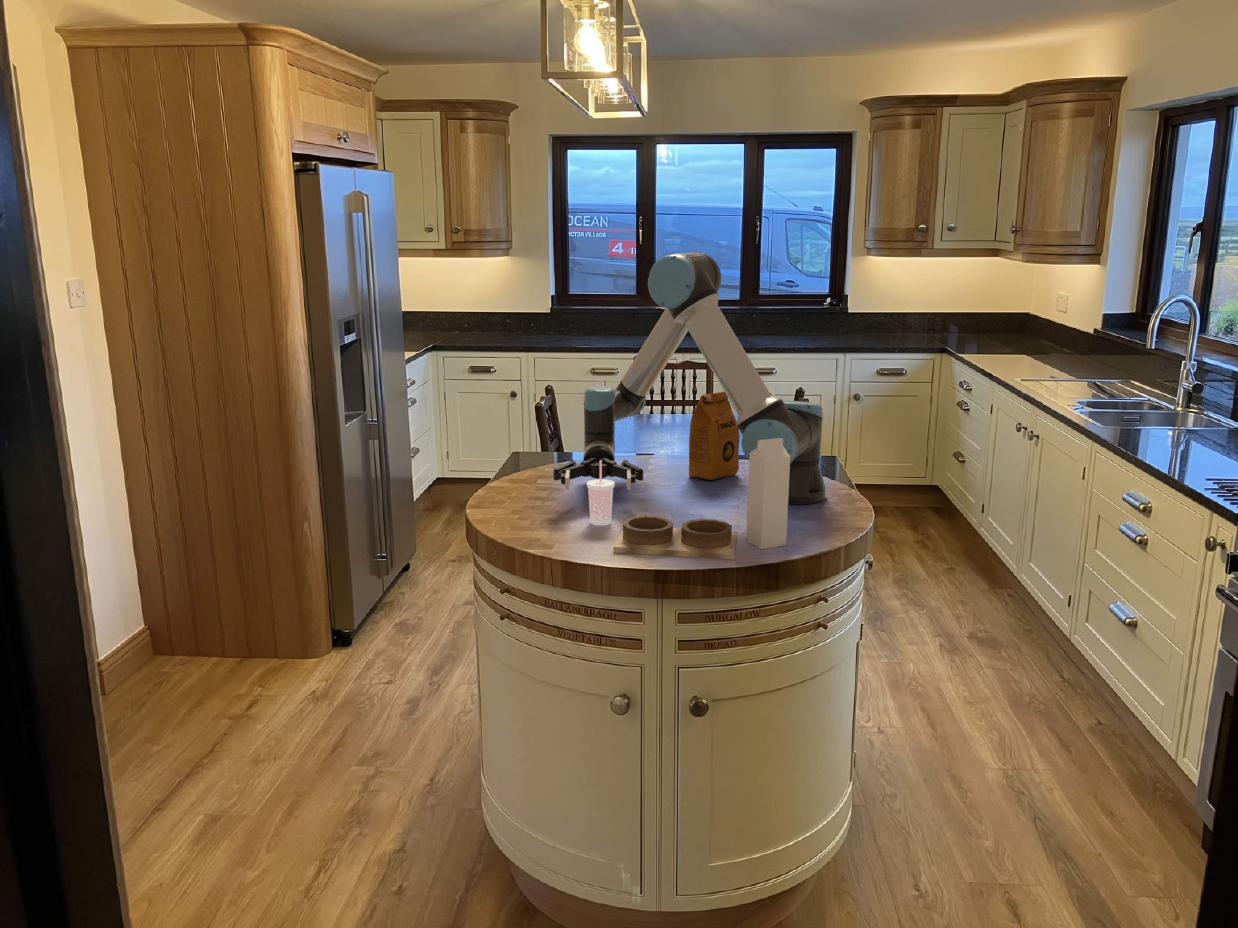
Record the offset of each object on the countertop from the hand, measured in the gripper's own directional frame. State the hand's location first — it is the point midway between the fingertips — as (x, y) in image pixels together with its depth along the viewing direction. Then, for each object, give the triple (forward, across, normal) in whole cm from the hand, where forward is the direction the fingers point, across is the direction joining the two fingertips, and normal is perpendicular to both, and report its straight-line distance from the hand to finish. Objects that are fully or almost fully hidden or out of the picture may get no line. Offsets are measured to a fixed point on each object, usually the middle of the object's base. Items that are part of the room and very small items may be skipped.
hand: (598, 483), depth 214 cm
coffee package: (-38, -30, -9) cm, 49 cm away
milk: (+15, -35, -9) cm, 39 cm away
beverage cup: (+1, -1, -9) cm, 9 cm away
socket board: (+16, -16, -8) cm, 24 cm away
